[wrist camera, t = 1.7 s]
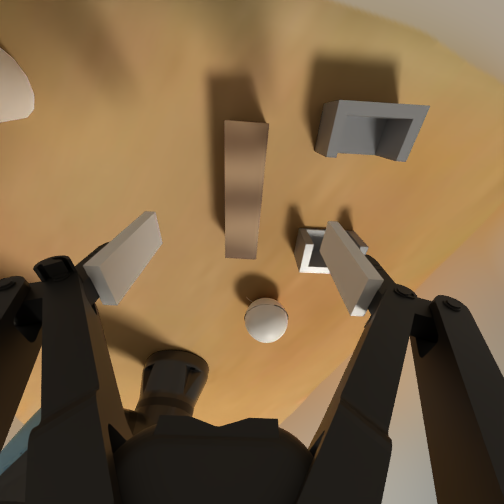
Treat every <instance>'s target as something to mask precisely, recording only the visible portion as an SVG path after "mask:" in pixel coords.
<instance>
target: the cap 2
mask: <svg viewBox="0 0 504 504" xmlns="http://www.w3.org/2000/svg"><path fill="white" fill-rule="evenodd" d="M429 108H430V106H425V105H410V104H395V103H380V102H365V101H350V100H336V101H332V102H328V103H324V106H323V111H322V116H321V121H320V126H319V131H318V136H317V141H316V146H315V152H317V153H319V154H321V155H323V156H325V157H334V158H336V157H337V153H349V154H366V155H377V156H380V157H383V158H387V159H390V160H394V161H402V162H406V160H407V158H408V156H409V153H410V151H411V149H412V147H413V144H414V142H415V140H416V137H417V135H418V133H419V131H420V128H421V126H422V124H423V121H424V119H425V117H426V114H427V112H428V110H429Z"/></svg>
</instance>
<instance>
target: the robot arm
mask: <svg viewBox="0 0 504 504" xmlns="http://www.w3.org/2000/svg"><path fill="white" fill-rule="evenodd" d="M161 245H162V239H161V234H160V230H159V225H158V221H157V217H156V212H148V211H145V212H144V213H143V214H142V215H140V216H139V217H138V218H137V219H136V220H135V221H133V222H132V223H131V224H130V225H129V226H128V227H127V228H125V229H124V230H123V231H122V232H121V233H120V234H118V235H117V236H116V237H115V238H114V239H113V240H112V241H110V242H107V243H105V244H103V245H101V246H99V247H98V248H96V249H95V250H94V251H93V252H92V253H90V254H89V255H88V256H87V257H86V258H84V259H83V260H82V261H81V262H80V263H78V264H77V265H76V266H74V265H73V263H72V261H71V259H70V258H69V257H68V256H54V257H50V258H47V259H44V260H42V261H40V262H39V263H37V264H36V265H35V266H34V268H33V269H34V271H35V272H36V274H37V275H38V277H39V278H40V279H41V281H42V282H35V283H28V282H27V281H26V280H25V279H24V278H23V277H21V276H14V277H8V278H3V279H1V280H0V504H381V502H382V497H383V492H384V487H385V482H386V477H387V472H388V467H389V462H390V457H391V451H392V440H391V439H390V437H389V436H388V430H389V425H390V420H391V416H392V412H393V407H394V403H395V398H396V394H397V389H398V385H399V380H400V376H401V371H402V367H403V362H404V358H405V354H406V350H407V345H408V340H409V336H410V340H411V347H412V353H413V359H414V365H415V371H416V377H417V383H418V389H419V395H420V400H421V406H422V413H423V419H424V425H425V430H426V437H427V443H428V449H429V455H430V461H431V467H432V473H433V479H434V485H435V491H436V497H437V503H438V504H504V377H503V375H502V374H501V372H500V370H499V368H498V366H497V364H496V362H495V360H494V358H493V356H492V354H491V352H490V350H489V348H488V346H487V344H486V342H485V340H484V338H483V336H482V334H481V332H480V330H479V328H478V326H477V324H476V322H475V320H474V318H473V316H472V314H471V313H470V311H469V309H468V308H467V307H466V306H465V305H463V304H462V303H461V302H460V301H458V300H456V299H454V298H451V297H449V296H444V295H438V296H436V297H435V298H434V300H433V301H429V300H425V299H421V298H418V297H417V295H416V294H415V293H414V292H413V291H412V290H411V289H409V288H407V287H405V286H402V285H399V284H396V283H395V282H394V281H393V280H392V279H391V277H390V276H389V275H388V274H387V273H386V272H385V270H384V269H383V268H382V267H381V266H380V264H379V263H378V262H377V261H376V260H375V259H374V258H372V257H371V256H369V255H364V254H363V253H362V251H361V250H360V249H359V248H358V246H357V245H356V244H355V243H354V241H353V240H352V239H351V238H350V236H349V235H348V234H347V232H346V231H345V230H344V229H343V227H342V226H341V225H340V224H339V222H335V221H328V223H327V227H326V230H325V234H324V237H323V241H322V244H321V248H320V253H321V255H322V257H323V259H324V261H325V264H326V266H327V268H328V270H329V272H330V274H331V276H332V278H333V280H334V282H335V284H336V286H337V289H338V291H339V293H340V295H341V297H342V299H343V301H344V303H345V305H346V307H347V309H348V311H349V314H350V316H364V315H365V313H366V311H367V310H369V312H370V313H371V316H370V318H369V320H368V321H367V323H366V325H365V326H364V328H365V329H364V331H363V333H362V335H361V337H360V339H359V342H358V344H357V346H356V348H355V350H354V353H353V355H352V357H351V359H350V361H349V363H348V366H347V368H346V370H345V372H344V374H343V376H342V379H341V381H340V383H339V385H338V387H337V389H336V392H335V394H334V396H333V398H332V401H331V403H330V405H329V407H328V409H327V411H326V413H325V416H324V418H323V420H322V422H321V424H320V426H319V428H318V430H317V432H316V434H315V436H314V438H313V440H312V442H311V444H310V446H309V448H308V449H307V448H306V447H305V445H304V444H302V442H301V441H300V440H298V439H297V438H296V437H295V436H293V435H292V434H291V433H289V432H288V431H286V430H284V429H281V428H279V427H278V419H265V418H247V419H244V420H241V421H237V422H234V423H231V424H227V425H224V426H220V427H216V426H213V425H211V424H208V423H206V422H203V421H201V420H198V419H195V418H193V417H192V415H193V411H194V406H195V404H196V402H197V400H198V398H199V396H200V394H201V392H202V390H203V388H204V386H205V384H206V381H207V378H208V372H209V367H208V365H207V363H206V362H205V361H204V360H203V359H201V358H200V357H198V356H196V355H194V354H191V353H188V352H184V351H177V350H166V351H160V352H157V353H154V354H152V355H151V356H150V357H149V358H148V359H147V361H146V363H145V366H144V368H143V373H142V381H141V390H140V398H139V401H138V404H137V406H136V409H135V411H132V410H128V409H124V408H123V406H122V402H121V398H120V395H119V391H118V387H117V383H116V379H115V375H114V371H113V367H112V363H111V359H110V355H109V352H108V348H107V344H106V340H105V336H104V332H103V328H102V324H101V320H100V316H99V312H98V309H97V306H96V304H95V302H96V301H97V299H98V298H99V297H100V299H101V301H102V303H103V305H118V304H119V302H120V301H121V300H122V298H123V297H124V295H125V294H126V293H127V291H128V290H129V289H130V287H131V286H132V284H133V283H134V282H135V280H136V279H137V278H138V276H139V275H140V273H141V272H142V271H143V269H144V268H145V267H146V265H147V264H148V262H149V261H150V260H151V258H152V257H153V256H154V254H155V253H156V251H157V250H158V249H159V247H160V246H161ZM41 346H42V380H41V408H40V409H39V410H38V411H37V412H36V413H35V414H34V415H33V416H32V417H31V418H30V419H29V420H28V422H27V423H26V424H25V425H24V426H23V427H22V428H21V429H20V431H18V433H17V434H16V435H15V436H14V437H13V438H12V440H11V441H10V442H9V443H8V444H7V445H6V446H5V448H4V449H3V450H2V448H3V445H4V442H5V440H6V437H7V435H8V431H9V429H10V427H11V424H12V421H13V419H14V416H15V414H16V411H17V408H18V406H19V403H20V401H21V398H22V395H23V393H24V390H25V387H26V385H27V382H28V380H29V377H30V374H31V372H32V369H33V367H34V364H35V361H36V359H37V356H38V353H39V351H40V348H41ZM1 450H2V451H1Z"/></svg>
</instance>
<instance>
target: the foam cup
mask: <svg viewBox="0 0 504 504" xmlns="http://www.w3.org/2000/svg"><path fill="white" fill-rule="evenodd" d="M33 110H34V93H33V90H32V88H31V85H30V82H29V80H28V77H27V76H26V74H25V73H24V72H23V70H22V69H21V68H20V66H19V65H18V64H17V62H16V61H15V59H14V58H13V57H11V56H10V55H9V54H8V53H6V52H5V51H4V50H3V49H1V48H0V122H6V121H12V120H18V119H23V118H27V117H28V116H29V115H30V114H31V112H32V111H33Z"/></svg>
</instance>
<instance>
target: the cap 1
mask: <svg viewBox="0 0 504 504" xmlns="http://www.w3.org/2000/svg"><path fill="white" fill-rule="evenodd" d="M325 230H326V229H308V228H299V231H298V236H297V241H296V246H295V251H294V256H295V260H296V263H297V266H298V269H299V272H306V273H329V274H330V272H329V270H328V268H327V266H326V264H325V261H324V259H323V257H322V255H321V253H320V248H321V244H322V241H323V237H324V234H325ZM345 231H346V232H347V234H348V235H349V236H350V238H351V239H352V240H353V241H354V243H355V244H356V245H357V246H358V248H359V249H360V250H361V251H362V253H363V254H364V255H365V254H366V252H367V250H368V246H367V245H366V244H365V243H364V242H363V240H362V239H361V238H360V237H359V236H358V235H357V234H356V233H355V232H354V231H348V230H345Z"/></svg>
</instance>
